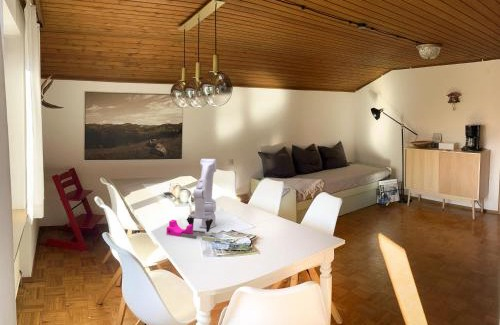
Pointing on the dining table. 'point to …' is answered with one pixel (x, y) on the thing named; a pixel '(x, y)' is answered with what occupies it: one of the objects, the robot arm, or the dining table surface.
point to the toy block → (178, 229)
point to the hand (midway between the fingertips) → (199, 230)
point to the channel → (191, 235)
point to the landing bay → (212, 237)
